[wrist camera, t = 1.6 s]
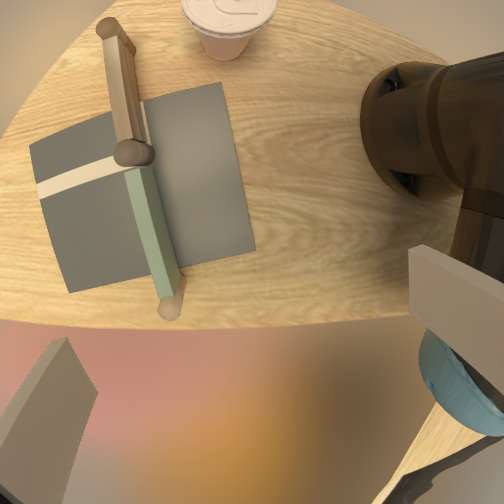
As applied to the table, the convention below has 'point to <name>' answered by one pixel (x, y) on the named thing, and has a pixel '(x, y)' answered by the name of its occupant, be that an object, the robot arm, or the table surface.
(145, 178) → the gate panel
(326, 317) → the table surface
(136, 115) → the base
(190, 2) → the smoothie
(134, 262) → the card
